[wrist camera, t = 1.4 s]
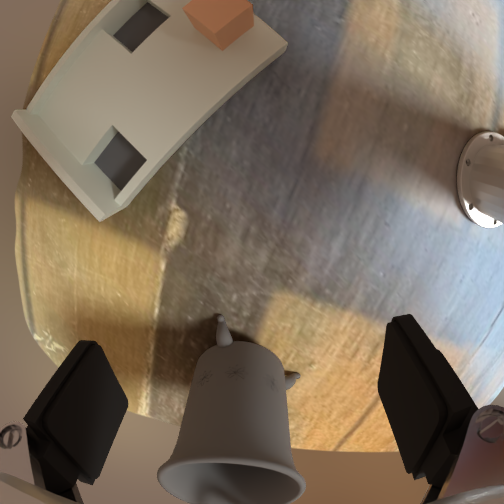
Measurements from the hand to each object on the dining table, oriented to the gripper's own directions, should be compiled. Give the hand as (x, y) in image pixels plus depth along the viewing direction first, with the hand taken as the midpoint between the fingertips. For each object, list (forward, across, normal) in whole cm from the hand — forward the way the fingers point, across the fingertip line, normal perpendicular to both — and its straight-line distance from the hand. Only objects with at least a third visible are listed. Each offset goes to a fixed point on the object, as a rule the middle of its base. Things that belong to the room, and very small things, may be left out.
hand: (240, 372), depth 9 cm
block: (+21, 0, -19) cm, 28 cm away
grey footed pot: (+24, +4, +22) cm, 33 cm away
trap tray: (+24, +10, -16) cm, 30 cm away
